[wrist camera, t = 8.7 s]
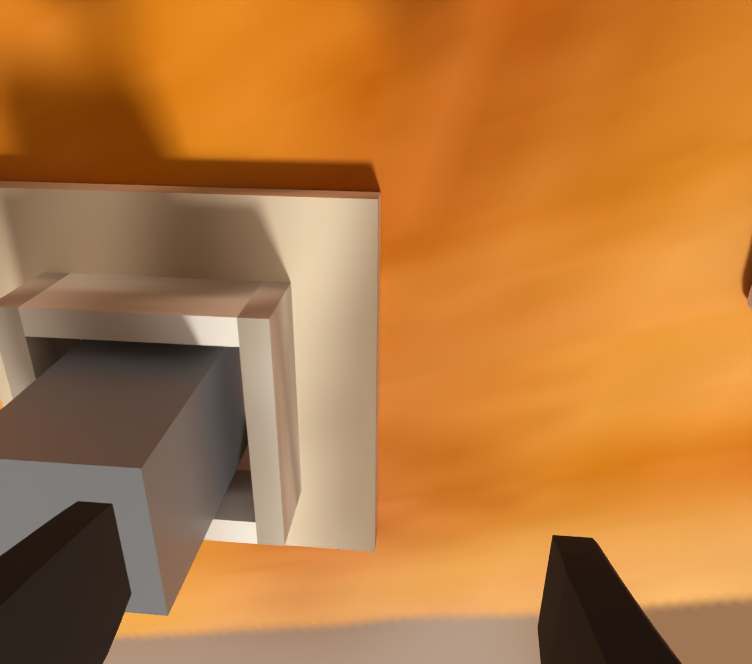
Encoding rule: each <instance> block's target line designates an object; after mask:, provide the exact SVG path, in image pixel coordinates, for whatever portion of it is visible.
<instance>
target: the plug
mask: <svg viewBox="0 0 752 664" xmlns="http://www.w3.org/2000/svg"><path fill="white" fill-rule="evenodd" d="M247 446H248V439H247V428H246V418H245V407H244V396H243V385H242V374H241V363H240V352H239V347H228V346H208V345H188V344H168V343H148V342H129V341H109V340H89V339H82V340H81V341H80V342H79V343H78V344H77V345H75V346H74V347H73V348H72V349H71V350H70V351H68V352H67V353H66V354H65V355H64V356H63V357H61V358H60V359H59V360H58V361H57V362H56V363H54V364H53V365H52V366H51V367H50V368H49V369H48V370H46V371H45V372H44V373H43V374H42V375H41V376H39V377H38V378H37V379H36V380H35V381H34V382H32V383H31V384H30V385H29V386H28V387H27V388H25V389H24V390H23V391H22V392H21V393H20V394H18V395H17V396H16V397H15V398H14V399H13V400H12V401H10V402H9V403H8V404H7V405H6V406H5V407H3V408H2V409H1V410H0V556H1V555H2V554H4V553H5V552H6V551H8V550H9V549H10V548H12V547H13V546H15V545H16V544H17V543H19V542H20V541H21V540H23V539H24V538H26V537H27V536H28V535H30V534H31V533H33V532H34V531H35V530H37V529H38V528H39V527H41V526H42V525H44V524H45V523H46V522H48V521H49V520H51V519H52V518H53V517H55V516H56V515H58V514H59V513H61V512H62V511H63V510H65V509H66V508H68V507H69V506H71V505H72V504H74V503H76V502H77V501H84V502H98V503H112V504H113V508H114V513H115V518H116V522H117V527H118V532H119V537H120V541H121V546H122V551H123V556H124V560H125V565H126V570H127V575H128V579H129V584H130V589H131V597H130V599H129V602H128V604H127V607H126V610H125V612H131V613H143V614H154V615H166V616H168V614H169V612H170V610H171V608H172V606H173V604H174V601H175V599H176V597H177V595H178V593H179V591H180V589H181V586H182V584H183V582H184V580H185V578H186V576H187V574H188V572H189V569H190V567H191V565H192V563H193V561H194V559H195V557H196V554H197V552H198V550H199V548H200V546H201V544H202V542H203V540H204V537H205V535H206V533H207V531H208V529H209V527H210V525H211V522H212V520H213V518H214V516H215V514H216V512H217V510H218V508H219V505H220V503H221V501H222V499H223V497H224V495H225V493H226V490H227V488H228V486H229V484H230V482H231V480H232V478H233V476H234V473H235V471H236V469H237V467H238V465H239V463H240V461H241V458H242V456H243V454H244V452H245V450H246V448H247Z"/></svg>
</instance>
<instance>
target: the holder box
mask: <svg viewBox="0 0 752 664" xmlns="http://www.w3.org/2000/svg"><path fill="white" fill-rule="evenodd" d="M380 217H381V192H358V191H324V190H291V189H257V188H224V187H190V186H157V185H123V184H90V183H56V182H23V181H0V398H1V402H2V405H3V407H5V406H6V405H7V404H8V403H9V402H10V401H12V400H13V399H14V398H15V397H16V396H17V395H18V394H20V393H21V392H22V391H23V390H24V389H25V388H27V387H28V386H29V385H30V384H31V383H32V382H34V381H35V380H36V379H37V378H38V377H39V376H41V375H42V374H43V373H44V372H45V371H46V370H48V369H49V368H50V367H51V366H52V365H53V364H54V363H56V362H57V361H58V360H59V359H60V358H61V357H63V356H64V355H65V354H66V353H67V352H68V351H70V350H71V349H72V348H73V347H74V346H75V345H77V344H78V343H79V342H80V341H81V340H82V339H89V340H109V341H129V342H148V343H168V344H188V345H208V346H228V347H239V352H240V363H241V374H242V385H243V396H244V407H245V418H246V428H247V439H248V446H247V448H246V450H245V452H244V454H243V456H242V458H241V461H240V463H239V465H238V467H237V469H236V471H235V473H234V476H233V478H232V480H231V482H230V484H229V486H228V488H227V490H226V493H225V495H224V497H223V499H222V501H221V503H220V505H219V508H218V510H217V512H216V514H215V516H214V518H213V520H212V522H211V525H210V527H209V529H208V531H207V533H206V535H205V537H204V540H214V541H227V542H241V543H254V544H267V545H280V546H285V545H292V546H306V547H319V548H332V549H345V550H359V551H372V552H375V545H376V538H377V480H378V392H379V305H380Z"/></svg>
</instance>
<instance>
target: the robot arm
mask: <svg viewBox="0 0 752 664" xmlns="http://www.w3.org/2000/svg"><path fill="white" fill-rule="evenodd" d="M748 306H749V308H750V310H751V311H752V285H751V289H750V292H749V296H748ZM130 597H131V589H130V584H129V579H128V575H127V570H126V565H125V560H124V556H123V551H122V546H121V541H120V537H119V532H118V527H117V522H116V518H115V513H114V508H113V504H112V503H98V502H84V501H77V502H76V503H74V504H72V505H71V506H69V507H68V508H66V509H65V510H63V511H62V512H61V513H59V514H58V515H56V516H55V517H53V518H52V519H51V520H49V521H48V522H46V523H45V524H44V525H42V526H41V527H39V528H38V529H37V530H35V531H34V532H33V533H31V534H30V535H28V536H27V537H26V538H24V539H23V540H21V541H20V542H19V543H17V544H16V545H15V546H13V547H12V548H10V549H9V550H8V551H6V552H5V553H4V554H2V555H1V556H0V664H103V662H104V660H105V658H106V656H107V654H108V652H109V649H110V647H111V645H112V642H113V640H114V637H115V635H116V633H117V630H118V628H119V625H120V623H121V620H122V617H123V615H124V612H125V610H126V607H127V604H128V602H129V599H130ZM538 637H539V648H540V659H541V664H682V663H681V662H680V661H679V659H678V658H677V657H676V655H675V654H674V653H673V651H672V650H671V649H670V648H669V646H668V645H667V643H666V642H665V641H664V639H663V638H662V637H661V635H660V634H659V633H658V632H657V630H656V629H655V627H654V626H653V624H652V623H651V622H650V620H649V619H648V618H647V616H646V615H645V613H644V612H643V610H642V609H641V608H640V606H639V605H638V603H637V602H636V600H635V599H634V598H633V596H632V595H631V593H630V592H629V590H628V589H627V587H626V586H625V584H624V583H623V581H622V580H621V578H620V577H619V575H618V574H617V572H616V571H615V569H614V568H613V566H612V565H611V563H610V562H609V560H608V559H607V557H606V556H605V554H604V553H603V551H602V549H601V548H600V546H599V545H598V544H597V542H596V541H595V540H594V539H593V538H586V537H572V536H558V535H553V536H552V542H551V549H550V555H549V561H548V567H547V573H546V579H545V585H544V591H543V598H542V604H541V610H540V616H539V622H538Z"/></svg>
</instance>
